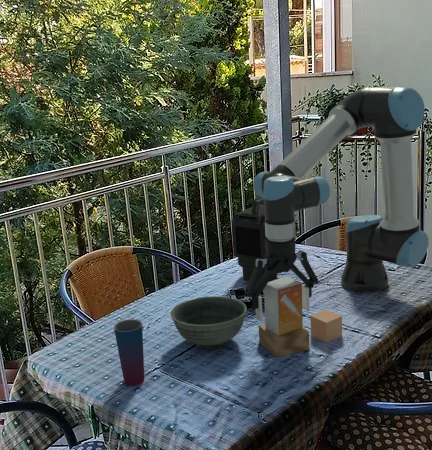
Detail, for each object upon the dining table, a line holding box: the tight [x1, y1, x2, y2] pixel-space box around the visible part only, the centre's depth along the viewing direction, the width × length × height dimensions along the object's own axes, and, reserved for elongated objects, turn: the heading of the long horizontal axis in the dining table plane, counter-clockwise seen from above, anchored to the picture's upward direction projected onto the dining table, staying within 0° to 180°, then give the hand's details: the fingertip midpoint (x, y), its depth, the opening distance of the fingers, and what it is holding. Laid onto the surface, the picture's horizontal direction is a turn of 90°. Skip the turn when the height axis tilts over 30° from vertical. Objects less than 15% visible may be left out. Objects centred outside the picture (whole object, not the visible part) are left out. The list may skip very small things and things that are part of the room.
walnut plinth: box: [258, 323, 310, 359], centre depth 158 cm, size 10×10×5 cm
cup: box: [113, 318, 145, 387], centre depth 144 cm, size 7×7×15 cm
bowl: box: [170, 295, 248, 350], centre depth 162 cm, size 21×21×10 cm
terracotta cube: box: [310, 309, 343, 343], centre depth 162 cm, size 6×6×6 cm
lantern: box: [230, 196, 278, 283], centre depth 204 cm, size 15×18×30 cm
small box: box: [263, 276, 304, 336], centre depth 155 cm, size 8×6×13 cm
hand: (282, 314), depth 156 cm, fingers open, 13 cm apart
